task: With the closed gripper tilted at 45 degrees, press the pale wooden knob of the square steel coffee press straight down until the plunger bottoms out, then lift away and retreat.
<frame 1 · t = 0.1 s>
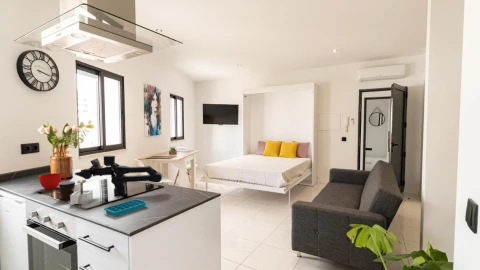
hand: (77, 172, 158), 17 cm above the worktop, tool horizontal, fingers open, 9 cm apart
ceramic cup: (54, 188, 182), on the worktop
plunger: (81, 187, 149), point 9 cm above the worktop, slide at 0.0 cm
press body: (82, 202, 149), on the worktop
ice cube tray: (126, 210, 137), on the worktop
coffee mug: (69, 197, 159), on the worktop
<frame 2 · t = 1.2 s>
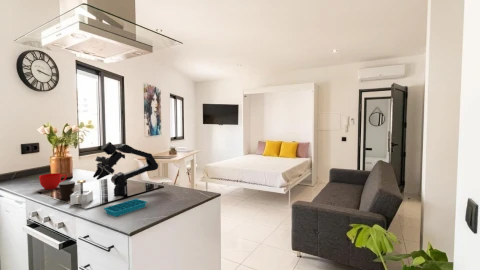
hand: (95, 178, 154), 14 cm above the worktop, tool tilted 45°, fingers open, 8 cm apart
nothing on the worktop moved.
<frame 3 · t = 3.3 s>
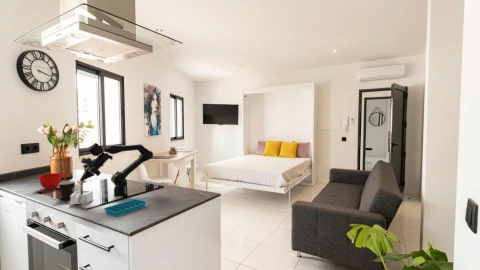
hand: (80, 180, 148), 14 cm above the worktop, tool tilted 45°, fingers closed, pressing on plunger
plunger: (81, 187, 149), point 9 cm above the worktop, slide at 0.1 cm, touching gripper
everything else where it was.
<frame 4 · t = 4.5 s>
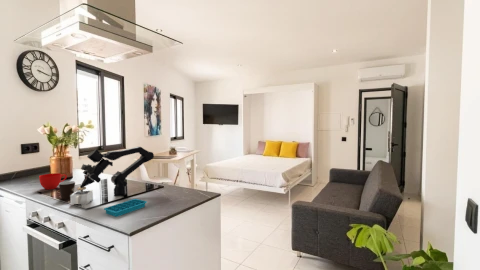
hand: (80, 187, 148), 9 cm above the worktop, tool tilted 45°, fingers closed, pressing on plunger
plunger: (81, 194, 149), point 5 cm above the worktop, slide at 4.1 cm, touching gripper
everything else where it was.
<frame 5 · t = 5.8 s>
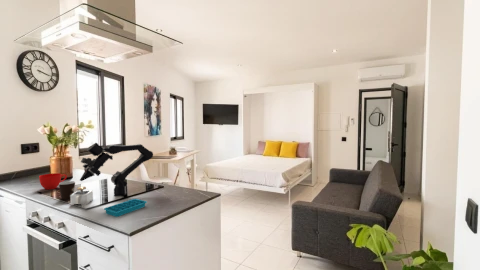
hand: (80, 180, 148), 14 cm above the worktop, tool tilted 45°, fingers closed
plunger: (81, 194, 149), point 5 cm above the worktop, slide at 4.1 cm
everything else where it was.
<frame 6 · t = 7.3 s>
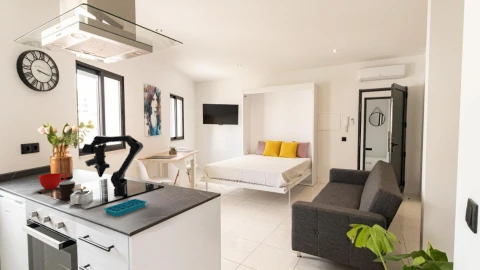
hand: (100, 177, 164), 12 cm above the worktop, tool pointing down, fingers closed
nothing on the worktop moved.
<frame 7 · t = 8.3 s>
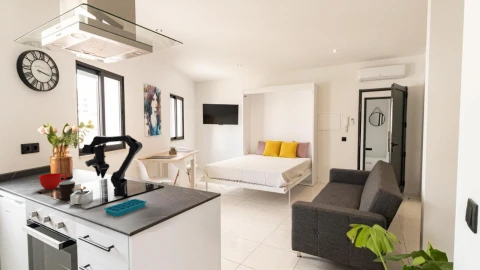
hand: (100, 177, 164), 12 cm above the worktop, tool pointing down, fingers open, 9 cm apart
nothing on the worktop moved.
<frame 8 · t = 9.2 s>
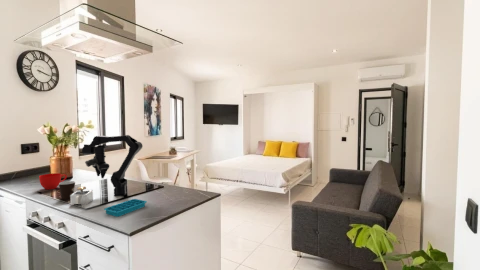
hand: (100, 177, 164), 12 cm above the worktop, tool pointing down, fingers open, 9 cm apart
nothing on the worktop moved.
at the end: plunger slide at 4.1 cm; the gripper is holding nothing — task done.
